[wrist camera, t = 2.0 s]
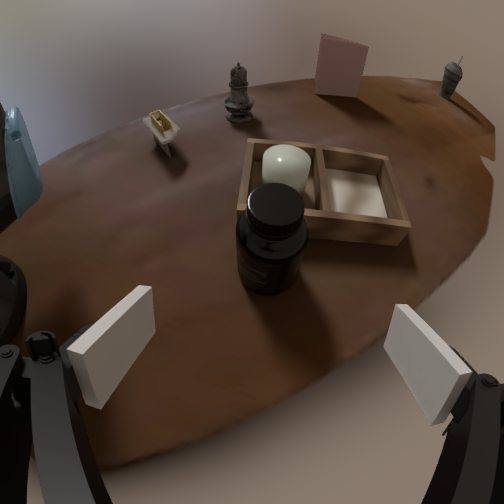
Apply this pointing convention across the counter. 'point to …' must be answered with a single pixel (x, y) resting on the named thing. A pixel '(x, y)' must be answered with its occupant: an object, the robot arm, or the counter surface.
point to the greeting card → (339, 66)
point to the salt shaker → (238, 97)
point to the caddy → (339, 193)
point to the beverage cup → (450, 79)
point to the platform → (157, 130)
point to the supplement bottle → (271, 238)
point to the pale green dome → (286, 166)
